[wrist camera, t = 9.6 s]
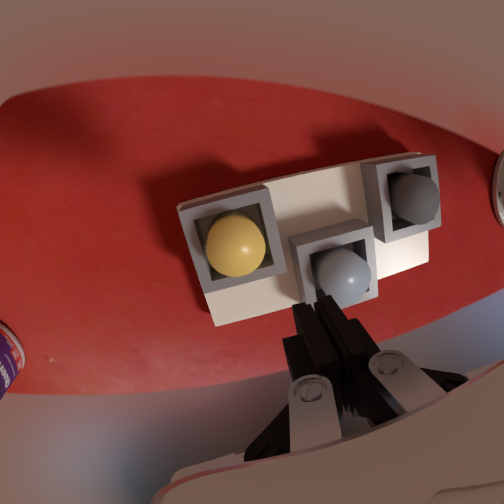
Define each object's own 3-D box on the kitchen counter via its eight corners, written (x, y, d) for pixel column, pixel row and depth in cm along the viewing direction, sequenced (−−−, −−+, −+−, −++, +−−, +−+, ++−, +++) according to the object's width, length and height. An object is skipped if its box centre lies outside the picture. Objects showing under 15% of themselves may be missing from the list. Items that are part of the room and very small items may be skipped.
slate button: (349, 237, 26) (369, 250, 22) (353, 277, 27) (372, 295, 24) (306, 248, 26) (321, 264, 22) (313, 289, 27) (327, 310, 24)
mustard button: (251, 204, 24) (258, 213, 20) (262, 251, 26) (270, 268, 22) (201, 217, 24) (199, 229, 20) (215, 264, 25) (215, 283, 22)
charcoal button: (411, 169, 25) (437, 172, 21) (416, 210, 26) (441, 219, 22) (377, 175, 25) (401, 180, 21) (382, 219, 26) (406, 229, 22)
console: (409, 152, 27) (439, 153, 22) (418, 255, 31) (444, 271, 26) (179, 203, 26) (170, 213, 21) (215, 316, 30) (215, 344, 25)
